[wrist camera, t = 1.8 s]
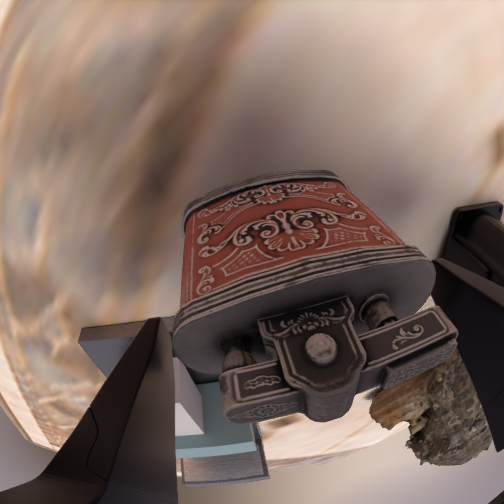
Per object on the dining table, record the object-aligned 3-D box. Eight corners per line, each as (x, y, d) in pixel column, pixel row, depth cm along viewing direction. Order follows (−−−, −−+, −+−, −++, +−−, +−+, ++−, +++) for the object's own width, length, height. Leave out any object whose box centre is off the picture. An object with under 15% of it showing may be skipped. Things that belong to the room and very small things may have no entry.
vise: (225, 308, 17) (237, 400, 12) (262, 439, 31) (270, 480, 26) (81, 328, 16) (60, 407, 11) (189, 448, 31) (192, 488, 26)
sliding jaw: (229, 335, 16) (241, 412, 12) (247, 396, 21) (257, 452, 16) (82, 352, 15) (67, 418, 11) (131, 407, 20) (128, 459, 16)
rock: (523, 434, 15) (434, 517, 15) (466, 407, 30) (393, 466, 29) (505, 322, 18) (392, 429, 17) (434, 317, 32) (346, 383, 32)
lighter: (194, 255, 14) (200, 456, 6) (174, 195, 13) (141, 412, 4) (344, 219, 15) (458, 373, 6) (341, 159, 13) (503, 296, 5)
